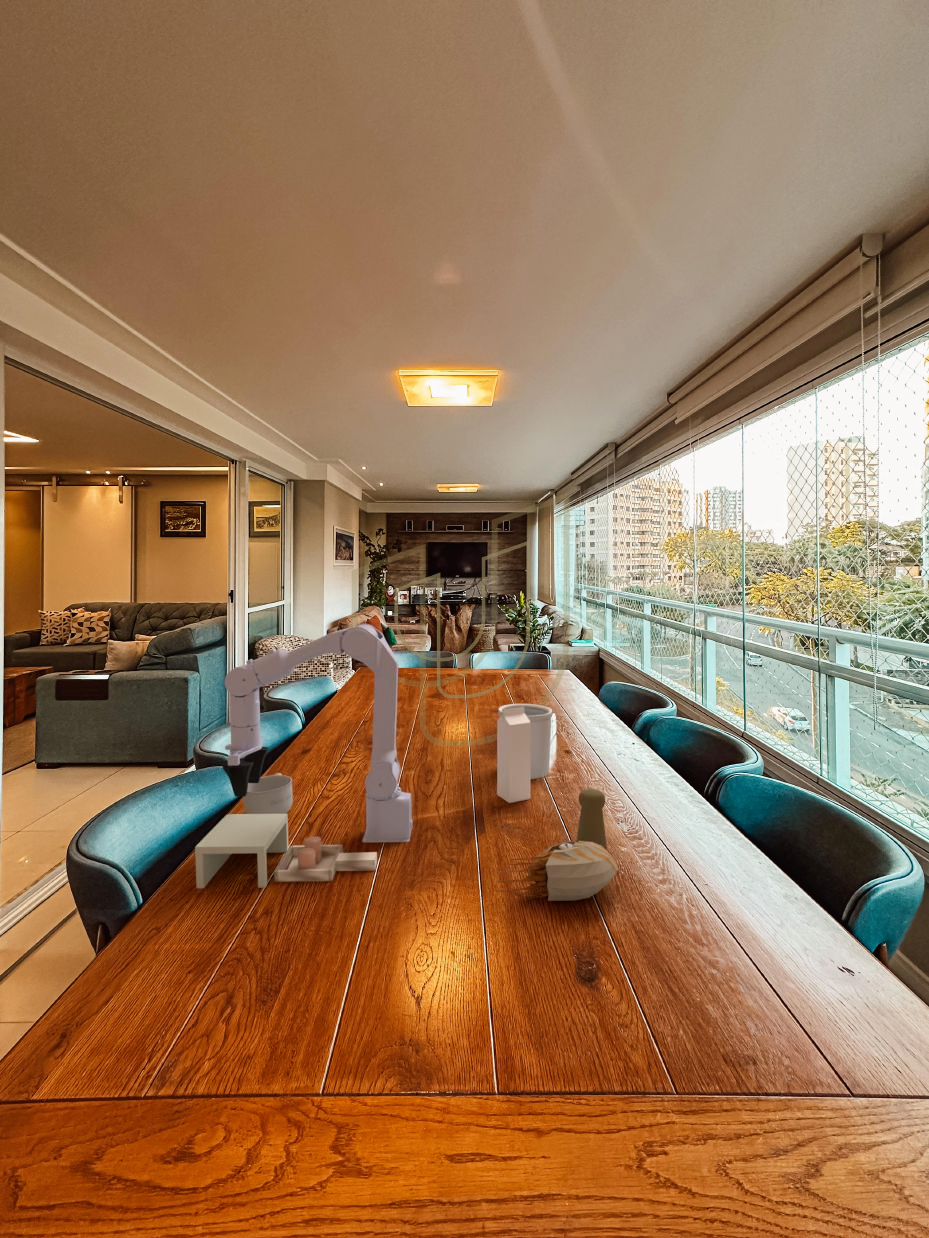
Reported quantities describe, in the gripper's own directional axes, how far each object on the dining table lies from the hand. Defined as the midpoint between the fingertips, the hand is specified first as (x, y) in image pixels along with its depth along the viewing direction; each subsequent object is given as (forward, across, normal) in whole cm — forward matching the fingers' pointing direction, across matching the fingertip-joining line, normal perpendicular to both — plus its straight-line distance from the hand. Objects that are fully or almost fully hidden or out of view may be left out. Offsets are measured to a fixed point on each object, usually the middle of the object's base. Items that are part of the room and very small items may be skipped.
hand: (247, 789), depth 121 cm
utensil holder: (+10, -40, +62) cm, 74 cm away
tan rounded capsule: (+10, +12, +16) cm, 22 cm away
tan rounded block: (+10, +16, +16) cm, 25 cm away
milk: (+10, -21, +57) cm, 62 cm away
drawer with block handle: (+10, +14, +20) cm, 26 cm away
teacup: (+10, -12, +1) cm, 16 cm away
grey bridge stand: (+10, +14, +4) cm, 18 cm away
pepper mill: (+10, +5, +70) cm, 71 cm away
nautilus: (+10, +22, +60) cm, 65 cm away
